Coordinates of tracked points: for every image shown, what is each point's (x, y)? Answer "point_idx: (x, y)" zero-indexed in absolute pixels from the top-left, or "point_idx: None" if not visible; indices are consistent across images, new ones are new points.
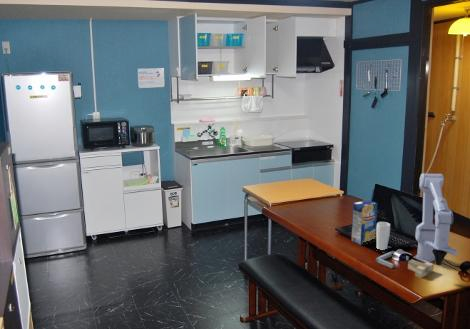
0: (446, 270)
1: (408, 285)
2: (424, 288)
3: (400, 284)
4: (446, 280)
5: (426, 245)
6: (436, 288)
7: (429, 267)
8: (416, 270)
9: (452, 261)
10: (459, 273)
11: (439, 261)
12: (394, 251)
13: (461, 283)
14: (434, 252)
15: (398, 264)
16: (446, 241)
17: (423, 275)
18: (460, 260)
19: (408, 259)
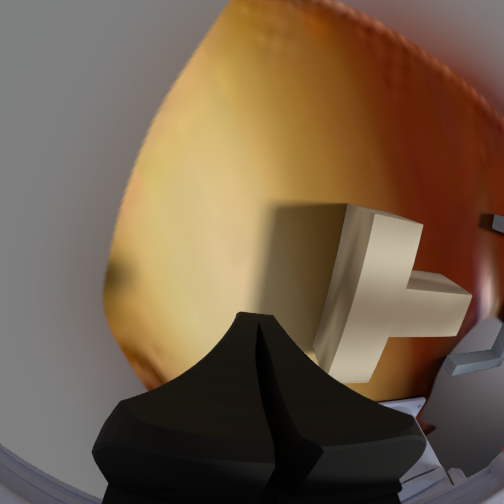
0: None
1: (360, 44)
2: (263, 63)
3: (395, 36)
4: (194, 291)
5: (502, 457)
6: (197, 120)
7: (337, 329)
8: (405, 219)
9: None
10: None
11: (228, 334)
12: (496, 364)
13: (118, 312)
14: (362, 423)
15: (478, 284)
16: None
17: (344, 236)
18: None
19: (444, 365)
